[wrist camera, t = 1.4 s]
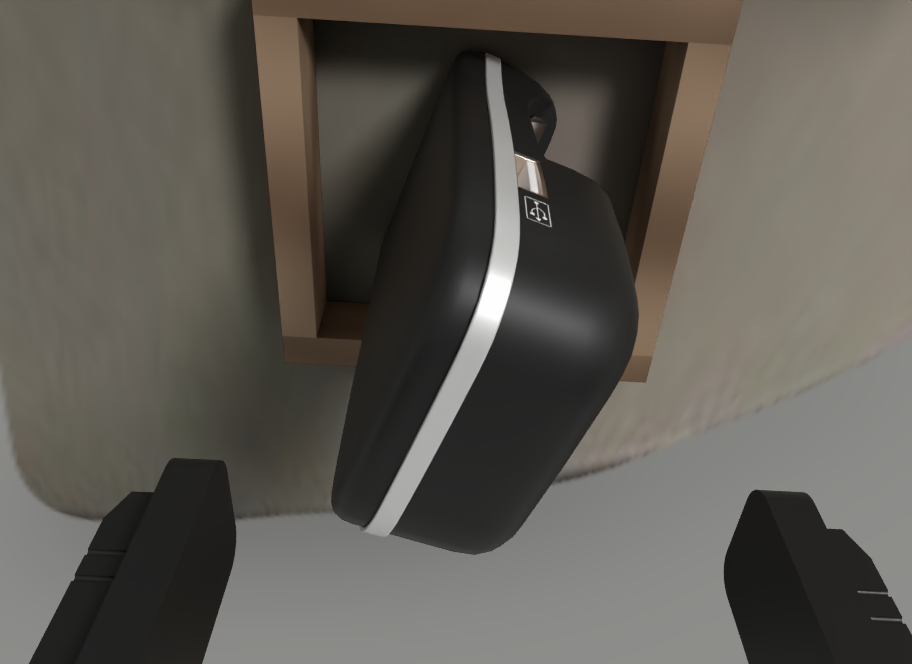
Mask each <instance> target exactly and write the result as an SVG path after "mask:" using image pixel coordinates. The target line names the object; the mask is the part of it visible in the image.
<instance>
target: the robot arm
mask: <svg viewBox="0 0 912 664" xmlns="http://www.w3.org/2000/svg"><path fill="white" fill-rule="evenodd" d="M235 547H236V525H235V518H234V512H233V506H232V499H231V493H230V487H229V480H228V474H227V468H226V465H225V463H224V461H221V460H202V459H183V458H173V459H171V460H170V461H169V462H168V464H167V465H166V467H165V469H164V472H163V474H162V476H161V478H160V480H159V482H158V485H157V487H156V489H155V491H154V493H152V492H131V493H130V494H129V495H128V496H127V497H126V498H124V499H123V500H122V501H121V502H120V503H119V504H118V505H117V506H116V507H115V508H114V509H113V510H112V511H111V512H110V513H108V514H107V515H106V516H105V517H104V519H103V521H102V523H101V524H100V527H99V528H98V530H97V532H96V534H95V536H94V538H93V540H92V542H91V544H90V546H89V548H88V554H87V555H85V556H84V558H83V559H82V562H81V563H80V565H79V567H78V569H77V571H76V573H75V579H74V581H71V583H70V585H69V587H68V589H67V591H66V593H65V595H64V596H63V598H62V601H61V602H60V605H59V606H58V608H57V610H56V612H55V614H54V616H53V618H52V620H51V622H50V624H49V626H48V628H47V630H46V631H45V633H44V636H43V637H42V639H41V641H40V643H39V645H38V647H37V649H36V651H35V653H34V655H33V657H32V659H31V661H30V663H29V664H202V662H203V659H204V656H205V653H206V650H207V646H208V643H209V640H210V637H211V634H212V630H213V627H214V624H215V621H216V617H217V614H218V611H219V608H220V605H221V602H222V598H223V595H224V592H225V589H226V585H227V582H228V579H229V576H230V573H231V569H232V566H233V561H234V556H235ZM724 583H725V589H726V594H727V597H728V600H729V604H730V607H731V610H732V613H733V616H734V619H735V622H736V625H737V629H738V632H739V635H740V638H741V641H742V644H743V647H744V650H745V653H746V656H747V660H748V663H749V664H912V635H911V633H910V631H909V629H908V627H907V625H906V624H903V623H902V616H901V614H900V612H899V610H898V608H897V606H896V605H895V603H894V601H893V599H892V597H888V590H887V588H886V586H885V584H884V582H883V580H882V578H881V576H880V575H879V572H878V571H877V569H876V567H875V565H874V563H873V561H872V559H871V558H870V557H869V556H868V555H867V554H866V553H865V552H864V551H863V550H862V549H861V548H860V547H859V546H858V545H857V544H856V543H855V542H854V541H853V540H852V539H851V538H850V537H849V536H848V535H847V534H846V533H845V532H844V531H843V530H841V529H827V528H826V526H825V524H824V522H823V520H822V518H821V516H820V514H819V512H818V509H817V507H816V505H815V504H814V502H813V500H812V499H811V497H810V496H809V495H808V494H806V493H804V492H786V491H767V490H766V491H765V490H754V491H752V492H751V493H750V495H749V497H748V499H747V501H746V504H745V506H744V509H743V512H742V514H741V517H740V519H739V522H738V524H737V527H736V530H735V532H734V535H733V537H732V540H731V543H730V545H729V548H728V550H727V553H726V557H725V563H724Z"/></svg>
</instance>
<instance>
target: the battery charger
mask: <svg viewBox="0 0 912 664" xmlns="http://www.w3.org/2000/svg"><path fill="white" fill-rule="evenodd" d="M556 121H557V118H556V110H555V106H554V103H553V101H552V99H551V97H550V96H549V94H548V93H547V92H546V91H545V90H544V89H543V88H542V87H541V86H540V85H539V84H538V83H537V82H536V81H534V80H533V79H531V78H530V77H528V76H527V75H526V74H524V73H523V72H522V71H519V70H517V69H515V68H512V67H510V66H508V65H505V64H503V63H501V59H500V58H498V57H495V56H493V55H491V54H488V53H485V54H484V55H481V54H479V53H477V52H474V51H470V50H465V51H462V52H461V53H459V54H458V55H457V57H456V59H455V60H454V62H453V65H452V67H451V70H450V72H449V75H448V77H447V80H446V82H445V85H444V87H443V90H442V92H441V95H440V97H439V100H438V102H437V105H436V107H435V110H434V113H433V115H432V118H431V120H430V123H429V125H428V128H427V130H426V133H425V135H424V138H423V140H422V143H421V145H420V148H419V150H418V153H417V155H416V158H415V161H414V163H413V166H412V168H411V171H410V173H409V176H408V178H407V181H406V183H405V186H404V189H403V191H402V194H401V196H400V199H399V201H398V204H397V206H396V209H395V211H394V214H393V217H392V219H391V222H390V224H389V227H388V229H387V232H386V234H385V237H384V240H383V242H382V245H381V249H380V254H379V260H378V265H377V270H376V275H375V280H374V285H373V290H372V295H371V300H370V305H369V309H368V314H367V318H366V323H365V328H364V332H363V337H362V342H361V347H360V351H359V356H358V361H357V365H356V370H355V375H354V380H353V385H352V389H351V394H350V399H349V404H348V409H347V414H346V419H345V424H344V429H343V434H342V439H341V444H340V450H339V455H338V460H337V465H336V470H335V476H334V482H333V488H332V498H331V503H332V507H333V510H334V512H335V513H336V514H337V515H338V516H339V517H340V518H341V519H342V520H344V521H347V522H349V523H352V524H355V525H359V526H360V530H361V531H362V532H365V533H368V534H372V535H376V536H380V537H385V536H387V535H388V534H392V535H395V536H399V537H402V538H406V539H410V540H413V541H417V542H420V543H424V544H428V545H431V546H435V547H438V548H442V549H446V550H449V551H453V552H460V553H466V554H474V555H476V554H480V553H485V552H489V551H492V550H494V549H496V548H498V547H500V546H501V545H502V544H504V543H505V542H506V541H508V540H509V539H511V538H512V537H513V536H514V535H515V534H516V532H517V531H518V530H519V529H520V527H521V526H522V525H523V523H524V522H525V521H526V519H527V518H528V516H529V515H530V514H531V512H532V511H533V509H534V508H535V507H536V505H537V504H538V502H539V501H540V499H541V498H542V497H543V495H544V494H545V492H546V491H547V489H548V488H549V487H550V485H551V484H552V482H553V481H554V479H555V478H556V477H557V475H558V474H559V472H560V471H561V470H562V468H563V467H564V465H565V464H566V462H567V461H568V459H569V458H570V456H571V455H572V453H573V452H574V450H575V449H576V447H577V446H578V444H579V443H580V441H581V439H582V438H583V436H584V435H585V433H586V432H587V430H588V429H589V427H590V426H591V424H592V423H593V421H594V420H595V418H596V417H597V415H598V414H599V412H600V411H601V409H602V408H603V406H604V405H605V403H606V402H607V400H608V399H609V397H610V396H611V394H612V392H613V391H614V389H615V387H616V385H617V384H618V382H619V380H620V379H621V377H622V375H623V373H624V371H625V369H626V367H627V365H628V363H629V361H630V358H631V356H632V353H633V349H634V345H635V342H636V337H637V332H638V321H639V309H638V300H637V294H636V289H635V284H634V279H633V274H632V270H631V266H630V262H629V258H628V254H627V250H626V246H625V243H624V239H623V236H622V233H621V230H620V227H619V224H618V221H617V219H616V216H615V213H614V210H613V207H612V204H611V201H610V198H609V196H608V194H607V193H606V192H605V191H604V190H603V189H602V188H601V187H600V186H599V185H598V184H597V183H596V182H595V181H593V180H591V179H590V178H588V177H586V176H584V175H582V174H580V173H578V172H576V171H574V170H572V169H570V168H567V167H565V166H562V165H560V164H557V163H555V162H552V161H550V160H547V159H546V158H545V157H544V154H545V152H546V150H547V148H548V146H549V143H550V141H551V138H552V136H553V133H554V130H555V127H556Z"/></svg>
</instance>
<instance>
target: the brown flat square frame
mask: <svg viewBox="0 0 912 664" xmlns="http://www.w3.org/2000/svg"><path fill="white" fill-rule="evenodd" d="M742 3H743V0H252V9H253V20H254V31H255V42H256V53H257V64H258V75H259V85H260V96H261V107H262V118H263V129H264V140H265V151H266V162H267V173H268V184H269V195H270V205H271V216H272V227H273V238H274V249H275V260H276V271H277V282H278V293H279V304H280V315H281V326H282V336H283V347H284V358H285V363H298V364H317V365H335V366H353V367H356V365H357V361H358V356H359V351H360V347H361V342H362V337H363V332H364V328H365V323H366V318H367V314H368V309H369V305H370V303H352V302H335V301H327V294H326V274H325V253H324V233H323V213H322V192H321V172H320V152H319V131H318V111H317V90H316V70H315V50H314V29H313V19H323V20H339V21H355V22H371V23H387V24H403V25H418V26H434V27H450V28H466V29H482V30H498V31H514V32H530V33H546V34H562V35H578V36H594V37H610V38H625V39H641V40H657V41H666V45H665V50H664V55H663V60H662V64H661V69H660V74H659V79H658V84H657V89H656V94H655V98H654V103H653V108H652V113H651V118H650V123H649V127H648V132H647V137H646V142H645V147H644V152H643V156H642V161H641V166H640V171H639V176H638V181H637V186H636V190H635V195H634V200H633V205H632V210H631V215H630V219H629V224H628V229H627V234H626V239H625V246H626V250H627V254H628V258H629V262H630V266H631V270H632V274H633V279H634V284H635V289H636V294H637V300H638V309H639V321H638V332H637V337H636V342H635V345H634V349H633V353H632V356H631V358H630V361H629V363H628V365H627V367H626V369H625V371H624V373H623V375H622V377H621V379H620V380H619V381H627V382H645V383H646V380H647V376H648V372H649V368H650V364H651V360H652V356H653V353H654V349H655V345H656V341H657V337H658V333H659V329H660V325H661V321H662V317H663V313H664V309H665V305H666V302H667V298H668V294H669V290H670V286H671V282H672V278H673V274H674V270H675V266H676V262H677V258H678V254H679V251H680V247H681V243H682V239H683V235H684V231H685V227H686V223H687V219H688V215H689V211H690V207H691V203H692V200H693V196H694V192H695V188H696V184H697V180H698V176H699V172H700V168H701V164H702V160H703V156H704V152H705V149H706V145H707V141H708V137H709V133H710V129H711V125H712V121H713V117H714V113H715V109H716V105H717V101H718V98H719V94H720V90H721V86H722V82H723V78H724V74H725V70H726V66H727V62H728V58H729V54H730V50H731V47H732V43H733V39H734V35H735V31H736V27H737V23H738V19H739V15H740V11H741V7H742Z"/></svg>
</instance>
